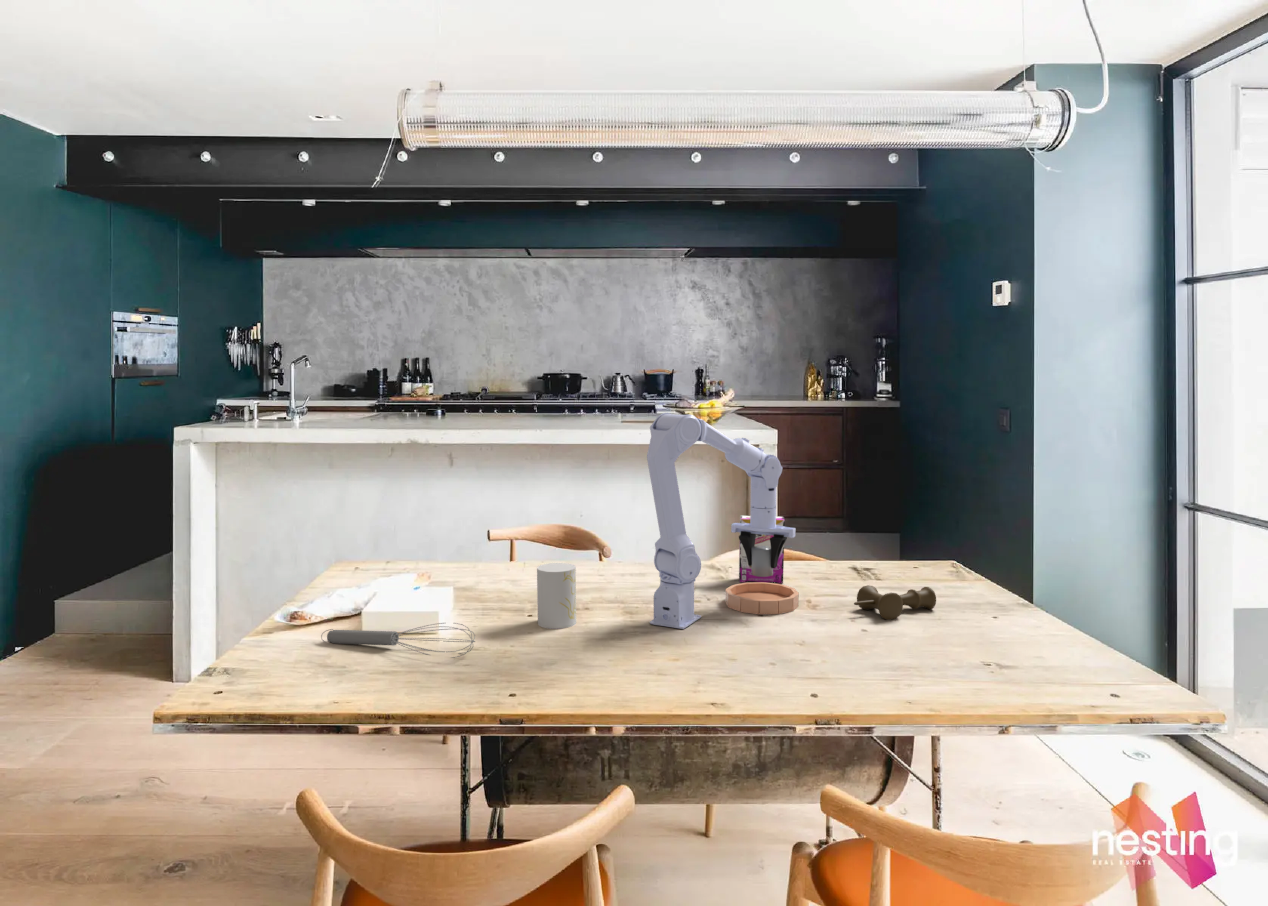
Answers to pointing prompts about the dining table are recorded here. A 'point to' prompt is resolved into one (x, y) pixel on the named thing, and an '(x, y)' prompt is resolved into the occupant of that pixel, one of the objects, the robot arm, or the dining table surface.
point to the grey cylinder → (761, 561)
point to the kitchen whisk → (384, 637)
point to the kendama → (894, 601)
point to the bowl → (762, 598)
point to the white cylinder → (556, 595)
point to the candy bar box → (760, 540)
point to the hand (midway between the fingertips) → (762, 566)
